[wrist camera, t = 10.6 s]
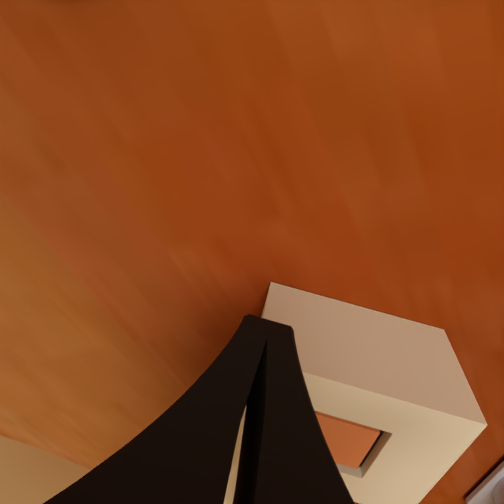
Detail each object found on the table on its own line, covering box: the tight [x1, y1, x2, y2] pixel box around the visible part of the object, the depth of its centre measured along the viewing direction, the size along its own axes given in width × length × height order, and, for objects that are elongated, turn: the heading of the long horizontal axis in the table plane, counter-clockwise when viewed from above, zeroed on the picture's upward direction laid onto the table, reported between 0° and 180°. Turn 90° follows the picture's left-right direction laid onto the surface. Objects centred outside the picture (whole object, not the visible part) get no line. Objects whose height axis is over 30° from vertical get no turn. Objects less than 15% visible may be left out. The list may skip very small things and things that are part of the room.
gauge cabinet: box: [232, 282, 487, 504], centre depth 19 cm, size 10×8×6 cm
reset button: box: [315, 411, 380, 469], centre depth 18 cm, size 3×3×2 cm
